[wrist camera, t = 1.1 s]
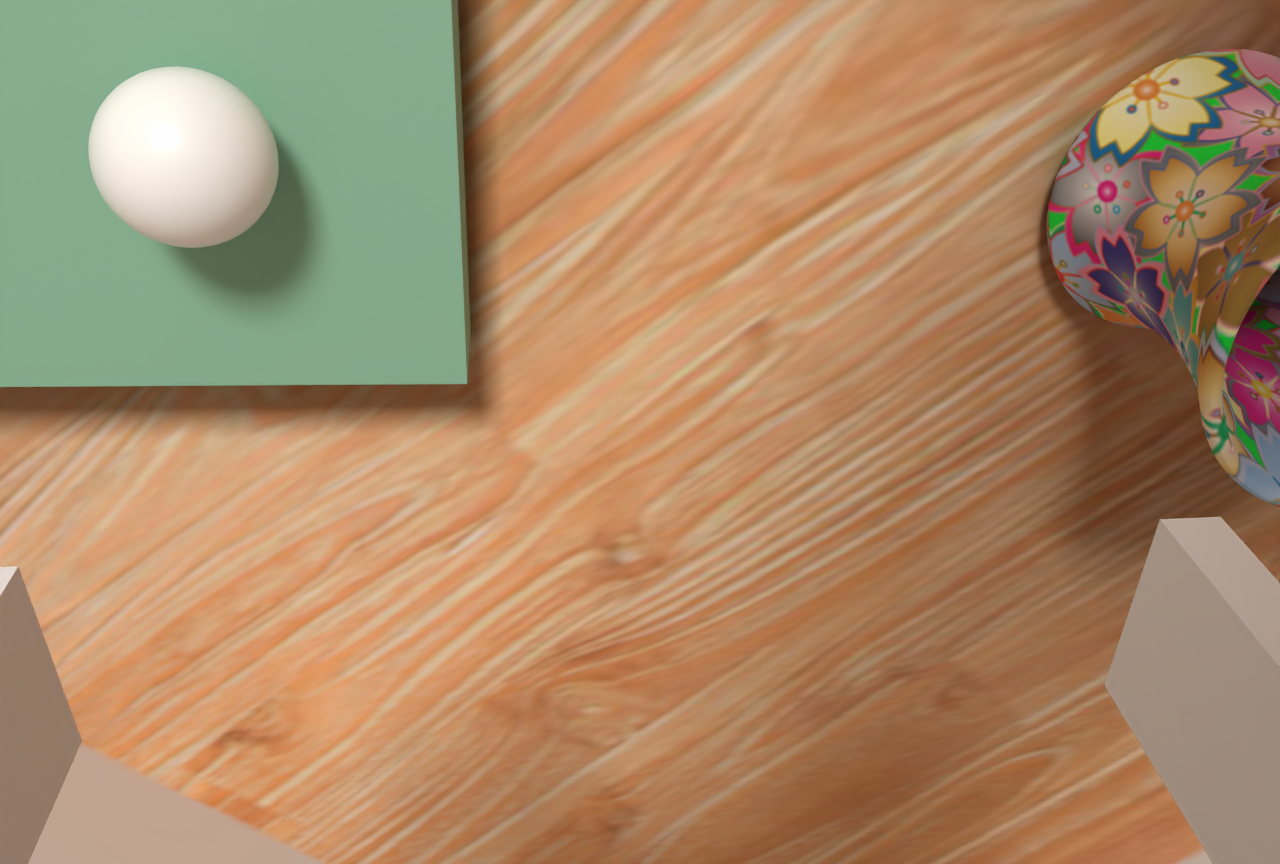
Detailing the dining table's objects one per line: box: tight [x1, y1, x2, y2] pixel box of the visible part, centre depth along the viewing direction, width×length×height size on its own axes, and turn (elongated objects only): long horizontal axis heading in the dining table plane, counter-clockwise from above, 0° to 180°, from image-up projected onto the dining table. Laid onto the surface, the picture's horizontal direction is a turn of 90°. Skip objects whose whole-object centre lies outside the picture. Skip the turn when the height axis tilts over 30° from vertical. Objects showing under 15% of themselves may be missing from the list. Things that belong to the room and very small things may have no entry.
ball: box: [88, 66, 279, 248], centre depth 25 cm, size 4×4×4 cm
